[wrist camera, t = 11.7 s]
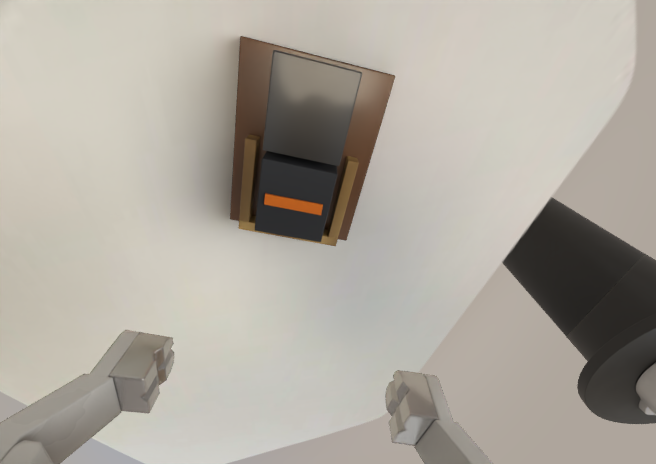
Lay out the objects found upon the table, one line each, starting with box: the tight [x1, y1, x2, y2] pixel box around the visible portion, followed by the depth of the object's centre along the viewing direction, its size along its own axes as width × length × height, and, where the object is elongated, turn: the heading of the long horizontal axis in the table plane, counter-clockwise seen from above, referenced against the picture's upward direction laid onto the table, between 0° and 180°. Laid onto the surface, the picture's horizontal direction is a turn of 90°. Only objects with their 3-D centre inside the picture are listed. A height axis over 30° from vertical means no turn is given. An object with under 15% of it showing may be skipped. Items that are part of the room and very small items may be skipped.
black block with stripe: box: [255, 151, 338, 242], centre depth 21 cm, size 5×6×3 cm
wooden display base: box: [230, 36, 395, 246], centre depth 21 cm, size 10×13×4 cm
